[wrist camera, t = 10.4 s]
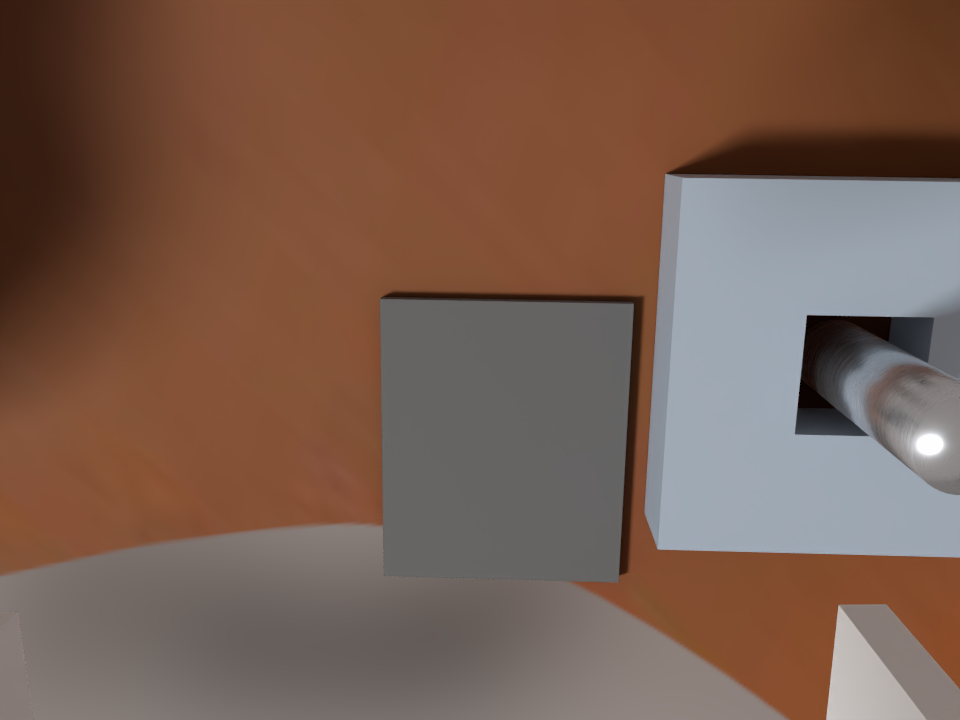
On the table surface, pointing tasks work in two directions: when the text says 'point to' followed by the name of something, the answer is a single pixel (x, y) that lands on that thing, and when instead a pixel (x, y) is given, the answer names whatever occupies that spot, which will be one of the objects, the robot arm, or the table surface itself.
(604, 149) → the table surface
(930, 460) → the pin
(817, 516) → the socket block
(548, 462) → the mat
